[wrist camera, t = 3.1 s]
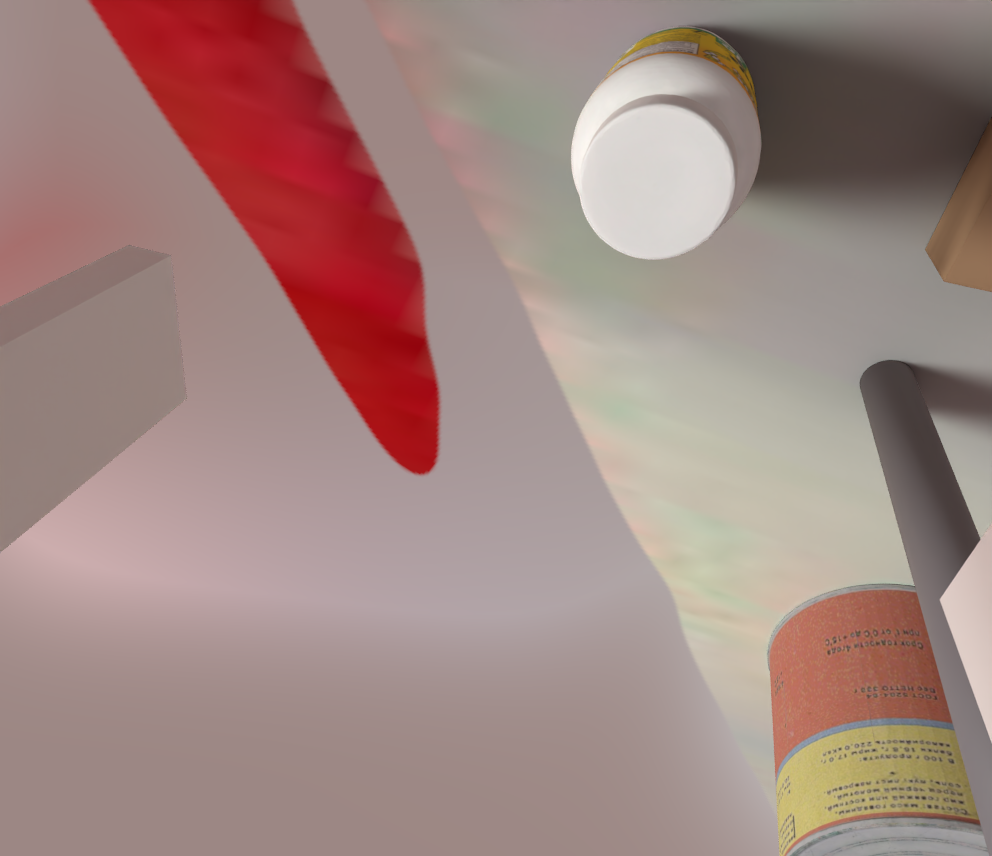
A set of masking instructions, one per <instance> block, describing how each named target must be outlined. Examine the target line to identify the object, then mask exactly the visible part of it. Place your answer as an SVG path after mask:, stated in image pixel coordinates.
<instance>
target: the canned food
mask: <svg viewBox="0 0 992 856" xmlns="http://www.w3.org/2000/svg"><path fill="white" fill-rule="evenodd" d="M768 666H769V670H770V677H771V697H772V716H773V736H774V755H775V774H776V794H777V813H778V833H779V852H780V856H989V853H988V849H987V846H986V842H985V839H984V835H983V831H982V828H981V824H980V820H979V817H978V813H977V810H976V806H975V802H974V799H973V795H972V791H971V788H970V784H969V781H968V777H967V773H966V770H965V766H964V762H963V759H962V755H961V752H960V748H959V744H958V741H957V737H956V733H955V730H954V726H953V723H952V719H951V715H950V712H949V708H948V704H947V701H946V697H945V694H944V690H943V686H942V683H941V679H940V675H939V672H938V668H937V665H936V661H935V657H934V654H933V650H932V646H931V643H930V639H929V636H928V632H927V628H926V625H925V621H924V617H923V614H922V610H921V607H920V603H919V599H918V596H917V592H916V588H915V587H914V586H906V585H893V584H873V585H862V586H854V587H848V588H844V589H839V590H835V591H832V592H829V593H826V594H823V595H820V596H818V597H815V598H813V599H811V600H809V601H807V602H805V603H804V604H802V605H800V606H799V607H797V608H796V609H794V610H793V611H792V612H790V613H789V614H788V615H787V616H786V617H785V618H784V619H783V620H782V621H781V622H780V623H779V625H778V626H777V627H776V629H775V631H774V632H773V634H772V637H771V639H770V642H769V646H768Z"/></svg>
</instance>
